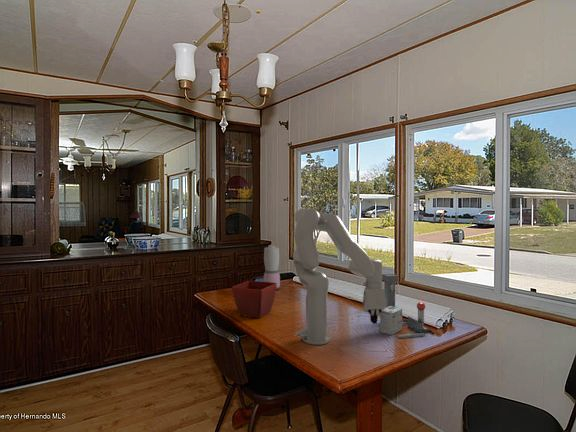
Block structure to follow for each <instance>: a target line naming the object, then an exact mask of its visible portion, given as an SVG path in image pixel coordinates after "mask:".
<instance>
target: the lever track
mask: <svg viewBox="0 0 576 432" xmlns="http://www.w3.org/2000/svg"><path fill="white" fill-rule="evenodd" d="M402 322H406V325H407V326H408V318H407V319H406V318H405V319H402ZM424 327H425V328H427V327H426V326H424ZM425 332H430V333H431V334H432V333H433V335H435V332H434V331H432V329H431V328H430V329H429V328H427V330H422V333H424V336H425V334H426V333H425Z"/></svg>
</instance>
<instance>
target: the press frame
mask: <svg viewBox="0 0 576 432" xmlns="http://www.w3.org/2000/svg"><path fill="white" fill-rule="evenodd" d="M382 281H383V282H384V283H383V284H384V286H383V288H384V292H385V300H386V307H385V308H387V307H389V306H394V307H396V283H397V282H398V281H399V276H398V275H397V274H394V273H382ZM407 319H408V322H407V323H408V325H407V324H406V322H403V321H402V326H406V325H407V327H409V328H410V327H411V328H410V329H412V330H413V329H414V330H413V331H415V332H417V333H410V334H409V333H408V334H397V338H398V339H407V338H419V337H421V336H422V337H425V335H424V333H422V323H420V322H418V320H416V319H414V318H413V317H412V316H407Z"/></svg>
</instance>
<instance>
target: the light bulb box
mask: <svg viewBox="0 0 576 432" xmlns="http://www.w3.org/2000/svg"><path fill="white" fill-rule="evenodd" d="M379 316H380V317H379V319H380V320H379V321H380V322H379V323H380V324H379V325H380V326H379V329H380V331H379V332H381V333H383V334H387V335H390V336H394V335H395V334H397V333H399V332H400V331H402V330H403V325H402V322H403V308H402V307H398V306H395V307H394V306H389V307H387V308H385V310H381V311H380V313H379Z"/></svg>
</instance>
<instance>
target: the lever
mask: <svg viewBox="0 0 576 432" xmlns="http://www.w3.org/2000/svg"><path fill="white" fill-rule="evenodd" d="M416 309H417V321H418V322H420V323H422V330H427V327H426V326H425V309H426V304H425V303H424V302H423V301H422V302H421V301H420V302H417V304H416ZM425 327H426V328H425Z"/></svg>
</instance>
